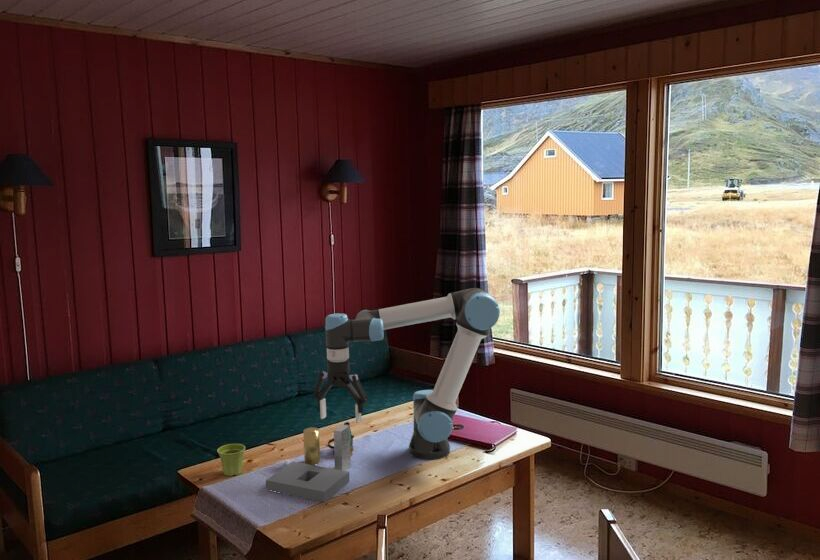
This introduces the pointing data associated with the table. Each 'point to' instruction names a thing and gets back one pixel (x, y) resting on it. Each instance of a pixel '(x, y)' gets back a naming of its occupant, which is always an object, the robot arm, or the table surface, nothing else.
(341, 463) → the aluminium bar
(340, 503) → the table surface
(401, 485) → the table surface
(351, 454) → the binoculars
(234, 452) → the plant pot
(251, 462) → the table surface
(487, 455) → the table surface
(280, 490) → the slot plate
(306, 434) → the brass peg
